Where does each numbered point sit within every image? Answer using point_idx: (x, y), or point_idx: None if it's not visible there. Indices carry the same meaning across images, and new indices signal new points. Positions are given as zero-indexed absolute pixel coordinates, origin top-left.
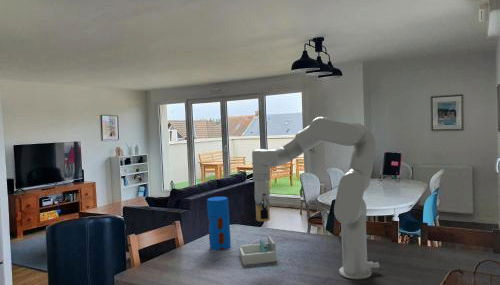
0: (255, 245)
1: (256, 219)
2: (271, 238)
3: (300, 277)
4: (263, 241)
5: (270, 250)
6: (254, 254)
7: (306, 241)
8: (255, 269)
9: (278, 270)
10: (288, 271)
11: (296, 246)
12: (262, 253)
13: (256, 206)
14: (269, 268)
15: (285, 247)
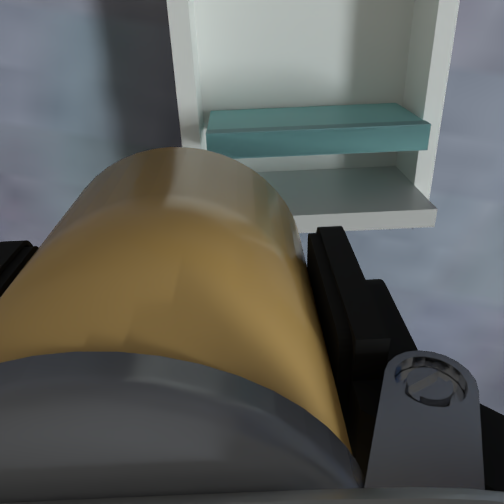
0: (427, 69)
1: (163, 152)
2: (356, 229)
3: None
4: (361, 150)
5: (324, 177)
6: (170, 22)
7: (481, 399)
8: (55, 5)
9: (25, 168)
10: (6, 222)
11: (424, 339)
12: (177, 100)
13: (23, 332)
14: (67, 115)
15: (438, 280)
